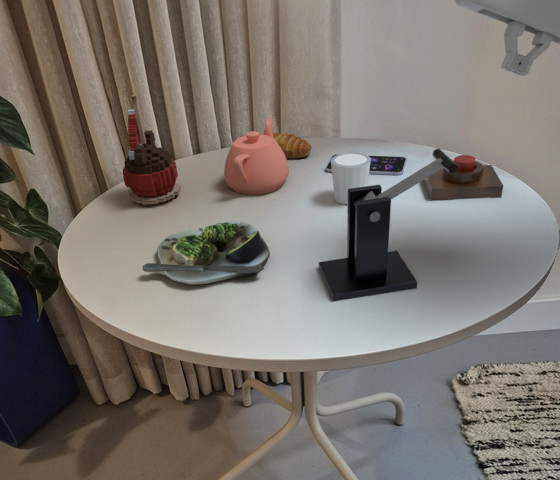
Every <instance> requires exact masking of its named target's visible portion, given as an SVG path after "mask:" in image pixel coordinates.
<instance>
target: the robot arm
mask: <svg viewBox="0 0 560 480" xmlns="http://www.w3.org/2000/svg"><path fill="white" fill-rule="evenodd" d="M454 1H455V4H456V5H457V6H459V7H461V8H464V9H466V10H468V11H472V12H475V13H477V14H480V15H481V16H485V17H488V18H490V19H493V20H496V21H498V22H500V23H503V24H506V25H507V26H506V29H505V31H504V33H503V38H504V49H505V56H504V58H503V60H502V63H501V66H500V68H501V69H502V70H505V71H508V72H511V73H513V74H515V75H518V76H521V77H526V76H527V75H528V74H529V72H530V70H531V68H532V65H533V63H534V60H536V59H538V58H539V57H540V56H541V55H542V54H543V53H544V52H545V51H546V50H548V48H550V46H551V43H552V42H553V43H556V44H558V45H560V0H454ZM524 32H526V33H530V34H532V35H534V36H533V39H532V41H531V45H532V46H534V47H533V48H532V49H531V50H530V51H529V52H528V53H527V54H526V55H523V54H521V53H519V49H518V48H519V47H518V46H519V45H518V37H521V36H523V34H524Z"/></svg>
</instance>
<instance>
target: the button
mask: <svg viewBox="0 0 560 480" xmlns="http://www.w3.org/2000/svg"><path fill="white" fill-rule="evenodd" d="M453 160H454V163H455V164H457V166H458V169H457V171H472V170H474V168H475V162H476V161H477V159H476V157H474V156H473V155H468V154H460V155H456V156H455V157H454V158H453Z"/></svg>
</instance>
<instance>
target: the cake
mask: <svg viewBox="0 0 560 480" xmlns="http://www.w3.org/2000/svg"><path fill="white" fill-rule="evenodd" d="M130 98H131V103H132V106H133V109H131V108H130V109H128V110H127V113H126V116H127V136H128V145H129V147H128V148H129V150H128V156H127V157H126V158H125V161H124V162H123V163H124V167H123V168H122V179H123V183H124V186H126V188H129V189H130V191H129V193H128V198H130V200H131V201H133V202H134V203H136V204H142V205H158V204H159V203H165V202H166V201H170V200H171V199H174V198H175V197H176V196H179V195H180V191H181V185H179V183H178V182H177V178H178V177H179V173H178V168H177V167H178V166H177V162H176V161H175V160H174V158H172V156H171V154H169V151H167V150H165V148H163V147H162V146H161V147H157V145H156V142H155V141H156V137H155V133H154V132H153V129H152V130H144V125H143V120H142V116H141V112H140V108H139V103H138V99H137V95H136V94H132V95H131V96H130Z"/></svg>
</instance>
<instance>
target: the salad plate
mask: <svg viewBox="0 0 560 480" xmlns="http://www.w3.org/2000/svg"><path fill="white" fill-rule="evenodd" d="M156 253H157V258H158V261H159V263H154V262H151V263H150V262H149V263H145V264H143V265H142V271H143V272H146V273H152V274H153V273H154V274H158V275H162V276H165V277H167V278H168V279H170V280H171V281H174V282H178V283H181V284H186V285H206V284H211V283H217V282H222V281H227V280H228V281H229V280H234V279H239V278H243V277H247V276H251V275H253V274H255V273H259V272H261V271H264V270H265V267H264V266H265V265H266V263H267V261H268V260H269V259H270V255H271V253H270V248H269V246H268V245H267V243H266V241H265V240H264V238H263V237H262V235H261V233H260V232H259V230H257V229H256V227H255V226H254V225H252V224H251V223H249V222H244V221H236V220H229V221H228V220H227V221H221V222H217V223H215V224H209V225H205V226H203V227H198V228H194V229H188V230H183V231H177V232H176V233H172V234H170V235H168V236H166V237H165V238H164V239H163V240H161V241H160V242H159V244H158V246H157V248H156Z"/></svg>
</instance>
